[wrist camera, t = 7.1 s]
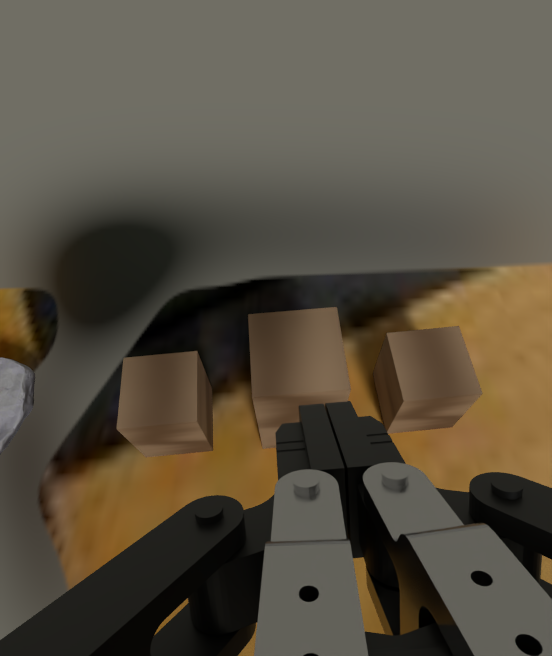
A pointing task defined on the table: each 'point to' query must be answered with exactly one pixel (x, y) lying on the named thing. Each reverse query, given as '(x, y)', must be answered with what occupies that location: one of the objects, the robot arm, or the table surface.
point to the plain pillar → (295, 365)
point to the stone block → (14, 398)
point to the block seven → (166, 404)
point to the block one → (424, 379)
